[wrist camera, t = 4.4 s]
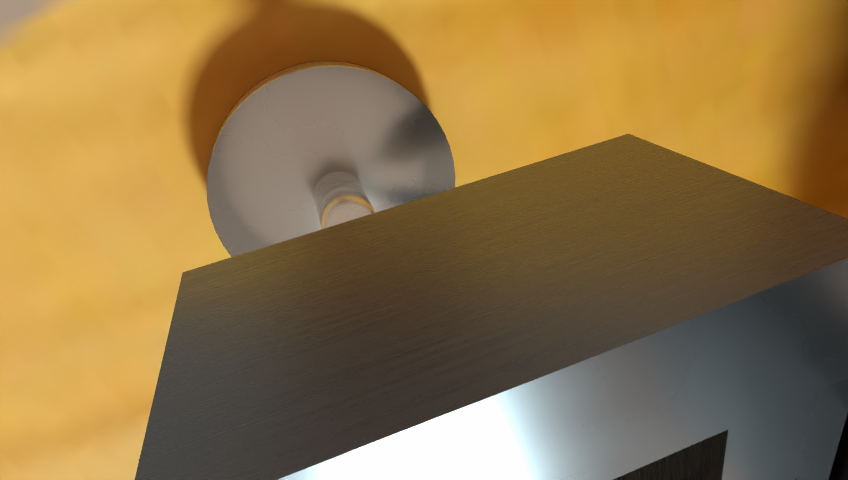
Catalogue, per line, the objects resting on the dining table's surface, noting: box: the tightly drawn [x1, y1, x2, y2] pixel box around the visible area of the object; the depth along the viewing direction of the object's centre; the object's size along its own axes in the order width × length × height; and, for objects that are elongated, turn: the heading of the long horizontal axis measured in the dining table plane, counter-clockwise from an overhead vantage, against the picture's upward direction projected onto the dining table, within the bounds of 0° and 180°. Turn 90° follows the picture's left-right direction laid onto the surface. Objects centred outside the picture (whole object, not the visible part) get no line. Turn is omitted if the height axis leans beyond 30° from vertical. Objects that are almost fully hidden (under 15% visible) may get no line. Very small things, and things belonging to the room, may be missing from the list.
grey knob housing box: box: [135, 134, 848, 480], centre depth 8 cm, size 7×7×4 cm
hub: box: [207, 61, 455, 257], centre depth 15 cm, size 8×8×6 cm
